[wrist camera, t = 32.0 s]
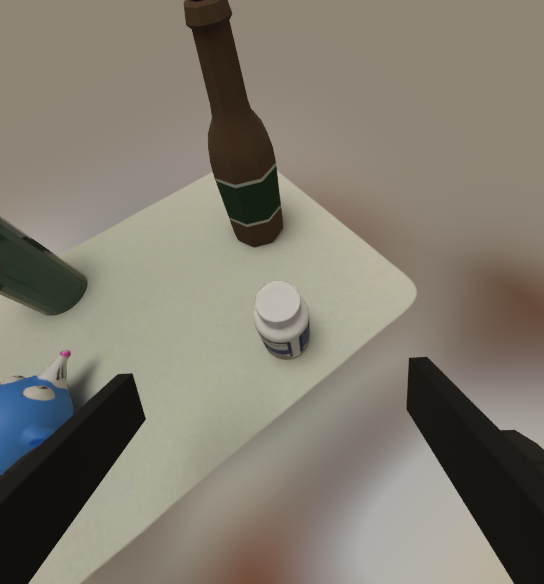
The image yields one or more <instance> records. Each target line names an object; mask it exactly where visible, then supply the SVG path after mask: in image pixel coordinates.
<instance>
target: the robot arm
mask: <svg viewBox="0 0 544 584" xmlns="http://www.w3.org/2000/svg"><path fill="white" fill-rule="evenodd" d="M408 371H409V372H408V390H407V411H408V412H409V414H410V416H411V417H412V419H413V420H414V422H415V424H416V425H417V427H418V428H419V430H420V432H421V433H422V435H423V437H424V438H425V440H426V442H427V443H428V445H429V446H430V448H431V449H432V451H433V453H434V454H435V456H436V458H437V459H438V461H439V463H440V464H441V466H442V467H443V469H444V471H445V472H446V474H447V476H448V477H449V479H450V480H451V482H452V484H453V485H454V487H455V489H456V490H457V492H458V493H459V495H460V497H461V498H462V500H463V502H464V503H465V505H466V506H467V508H468V510H469V511H470V513H471V514H472V516H473V518H474V519H475V521H476V523H477V524H478V526H479V527H480V529H481V530H482V532H483V534H484V536H485V537H486V539H487V540H488V542H489V544H490V545H491V547H492V548H493V550H494V552H495V553H496V555H497V557H498V558H499V560H500V561H501V563H502V564H503V566H504V568H505V569H506V571H507V573H508V574H509V576H510V578H511V579H512V581H513V583H514V584H544V450H543V449H542V448H541V447H540V446H539V445H538V444H537V443H535V442H533V441H532V440H530V439H529V438H527V437H525V436H524V435H522V434H520V433H519V432H517V431H516V430H499V429H498V428H497V427H496V426H495V425H494V424H493V423H492V422H491V421H490V420H489V419H488V418H487V417H486V416H485V415H484V414H483V413H482V412H481V411H480V410H479V409H478V408H477V407H476V406H475V405H474V404H473V403H472V402H471V401H470V400H469V399H468V398H467V397H466V396H465V395H464V394H463V393H462V392H461V391H460V390H459V388H458V387H457V386H456V385H454V383H453V382H452V381H450V380H449V378H448V377H447V376H446V375H444V374H443V372H442V371H440V369H439V368H438V367H436V365H434V363H433V362H432V361H431V360H430V359H428V357H417V358H409V370H408ZM145 420H146V418H145V415H144V412H143V408H142V405H141V401H140V398H139V394H138V391H137V387H136V384H135V381H134V377H133V374H132V373H130V374H118V375H116V376H115V377H114V378H113V379H112V380H111V381H110V382H109V383H108V384H107V385H105V386H104V387H103V388H102V389H101V390H100V391H99V392H98V393H97V394H96V395H94V396H93V397H92V398H91V399H90V400H89V401H88V402H87V403H86V404H85V405H83V406H82V407H81V408H80V409H79V410H78V411H77V412H76V413H75V414H74V415H72V416H71V417H70V418H69V419H68V420H67V421H66V422H65V423H64V424H63V425H61V426H60V427H59V428H58V429H57V430H56V431H55V432H54V433H53V434H52V435H50V436H49V437H48V438H47V439H46V440H45V441H44V442H43V443H42V444H41V445H39V446H37V447H36V448H34V449H33V450H31V451H30V452H28V453H27V454H25V455H24V456H22V457H21V458H19V459H18V460H17V461H16V462H15V463H14V464H13V465H12V466H10V467H9V468H8V469H7V470H6V471H5V472H4V474H3V475H0V584H28V583H29V582H30V580H31V579H32V578H33V576H34V575H35V573H36V572H37V571H38V569H39V568H40V566H41V565H42V564H43V562H44V561H45V559H46V558H47V557H48V555H49V554H50V552H51V551H52V550H53V548H54V547H55V545H56V544H57V543H58V541H59V540H60V538H61V537H62V536H63V534H64V533H65V531H66V530H67V529H68V527H69V526H70V524H71V523H72V522H73V520H74V519H75V517H76V516H77V515H78V513H79V512H80V510H81V509H82V508H83V506H84V505H85V503H86V502H87V501H88V499H89V498H90V496H91V495H92V494H93V492H94V491H95V489H96V488H97V487H98V485H99V484H100V482H101V481H102V480H103V478H104V477H105V475H106V474H107V473H108V471H109V470H110V468H111V467H112V466H113V464H114V463H115V461H116V460H117V459H118V457H119V456H120V454H121V453H122V452H123V450H124V449H125V448H126V446H127V445H128V443H129V442H130V441H131V439H132V438H133V436H134V435H135V434H136V432H137V431H138V429H139V428H140V427H141V425H142V424H143V422H144V421H145Z"/></svg>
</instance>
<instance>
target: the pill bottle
mask: <svg viewBox="0 0 544 584" xmlns="http://www.w3.org/2000/svg"><path fill="white" fill-rule="evenodd" d="M253 319H254V324H255V326H256V329H257V331H258V333H259V334H260V336H261V338H262V340H263V342H264V344H265V346H266V348H267V350H268V351H269V352H270V353H271V354H272V355H274V356H275V357H278V358H281V359H291V358H294V357H297V356H298V355H300V354H301V353H302V352H303V351H304V350H305V348H306V347H307V345H308V341H309V311H308V307H307V304H306V302H305V301H304V299H303V298H302V297H301V296H300V295H299V292H298V291H297V289H296V288H295V287H294V286H293V285H291V284H289V283H287V282H283V281H275V282H271V283H268V284H266V285H265V286H263V287H262V288H261V289H260V290H259V292H258V293H257V295H256V298H255V308H254V313H253Z"/></svg>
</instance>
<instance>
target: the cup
mask: <svg viewBox="0 0 544 584" xmlns="http://www.w3.org/2000/svg"><path fill="white" fill-rule="evenodd" d="M86 285H87V282H86V278H85V276H84V275H83V274H81V273H80V272H79V271H78V270H76V269H75V268H73V267H72V266H71V265H69V264H68V263H66V262H65V261H63V260H62V259H61V258H59V257H58V256H56V255H55V254H53V253H52V252H50V251H49V250H48V249H46V248H45V247H43V246H42V245H41V244H39V243H38V242H36V241H35V240H34V239H32V238H31V237H29V236H28V235H26V234H25V233H24V232H22V231H21V230H19V229H18V228H16V227H15V226H13V225H12V224H10V223H9V222H8V221H6V220H5V219H4V218H2V217H1V216H0V295H3V296H5V297H7V298H9V299H11V300H14V301H16V302H18V303H20V304H23V305H25V306H27V307H29V308H32V309H34V310H36V311H38V312H41V313H43V314H46V315H57V314H60V313H63V312H65V311H67V310H68V309H70V308H71V307H73V306H74V305H75V304H76V303H77V302H78V301H79V300H80V299H81V297H82V296H83V294H84V292H85V290H86Z"/></svg>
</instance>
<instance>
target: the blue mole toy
mask: <svg viewBox="0 0 544 584" xmlns="http://www.w3.org/2000/svg"><path fill="white" fill-rule="evenodd" d="M70 354H71V353H70V351H69V350H64V351H62V352H61V353H60V355H59V357H58V358H57V359H56V360H54V361H53V362H52V363H51V364H50V365H49V366H48V367H47V368H46V369H45V370H43V371H42V372H41V373H40V374H39V375H37V376H33V377H29V378H24V377H22V376H13V377H9V378H7V379H5V380H3V382H2V383H0V475H3V474H4V472H5V471H6V470H7V469H8V468H9V467H10V466H12V465H13V464H14V463H15V462H16V461H17V460H18V459H19V458H21V457H22V456H24V455H25V454H27V453H28V452H30V451H31V450H33V449H34V448H36V447H37V446H39V445H41V444H42V443H43V442H44V441H45V440H46V439H47V438H48V437H49V436H50V435H52V434H53V433H54V432H55V431H56V430H57V429H58V428H59V427H60V426H61V425H63V424H64V423H65V422H66V421H67V420H68V419H69V418H70V417H71V416H72V415H73V412H74V410H73V404H72V400H71V397H70V394H69V391H68V389H67V382H66V376H67V360H68V358H69V357H70Z"/></svg>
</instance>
